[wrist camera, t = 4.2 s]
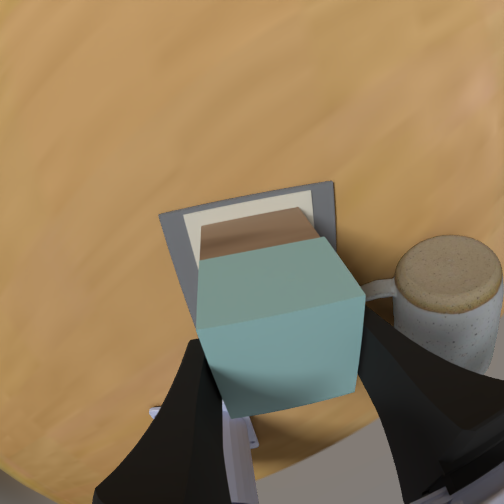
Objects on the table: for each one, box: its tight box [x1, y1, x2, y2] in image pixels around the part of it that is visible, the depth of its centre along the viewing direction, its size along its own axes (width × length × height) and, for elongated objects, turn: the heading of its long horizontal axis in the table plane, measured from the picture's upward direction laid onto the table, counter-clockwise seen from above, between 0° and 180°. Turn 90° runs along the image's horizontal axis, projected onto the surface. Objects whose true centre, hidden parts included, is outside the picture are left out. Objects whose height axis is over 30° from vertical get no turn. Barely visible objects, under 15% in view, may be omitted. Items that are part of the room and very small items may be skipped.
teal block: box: [196, 237, 366, 419], centre depth 12 cm, size 5×5×4 cm
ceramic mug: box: [360, 235, 504, 375], centre depth 17 cm, size 11×8×8 cm
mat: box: [159, 181, 336, 328], centre depth 18 cm, size 10×9×1 cm
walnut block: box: [200, 207, 320, 260], centre depth 15 cm, size 5×5×4 cm
